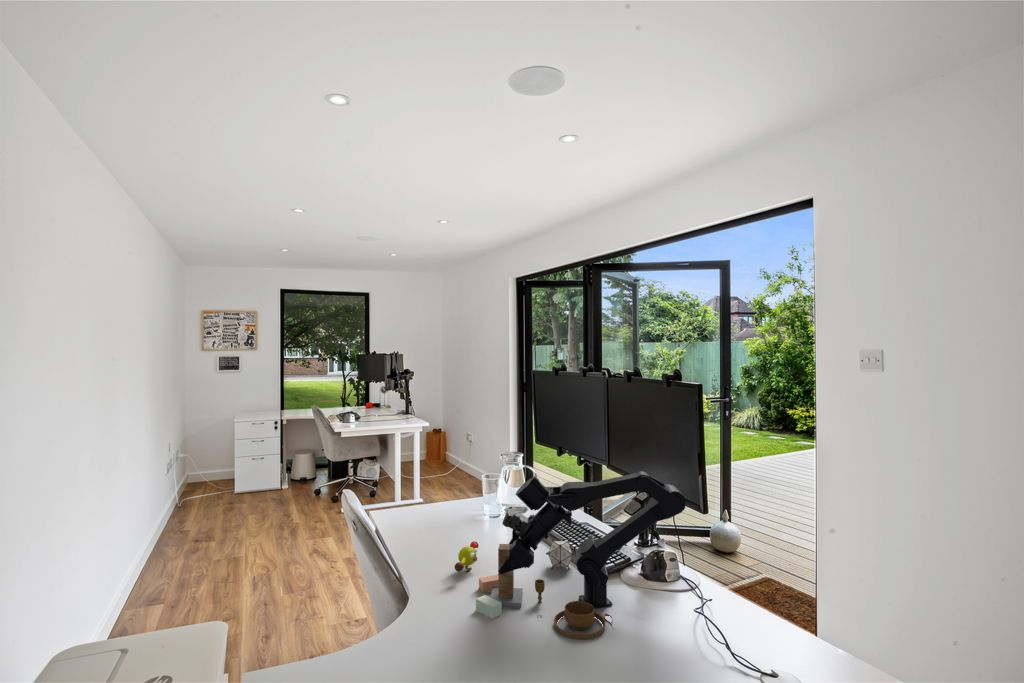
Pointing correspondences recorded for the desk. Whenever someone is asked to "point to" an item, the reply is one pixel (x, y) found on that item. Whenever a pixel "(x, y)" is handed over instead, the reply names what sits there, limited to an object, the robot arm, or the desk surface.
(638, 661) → the desk surface
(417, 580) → the desk surface
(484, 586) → the terracotta brick
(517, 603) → the slate coaster
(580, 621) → the place setting
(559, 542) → the game die
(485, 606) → the sage brick
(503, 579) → the walnut block
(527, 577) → the desk surface
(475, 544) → the toy figure
